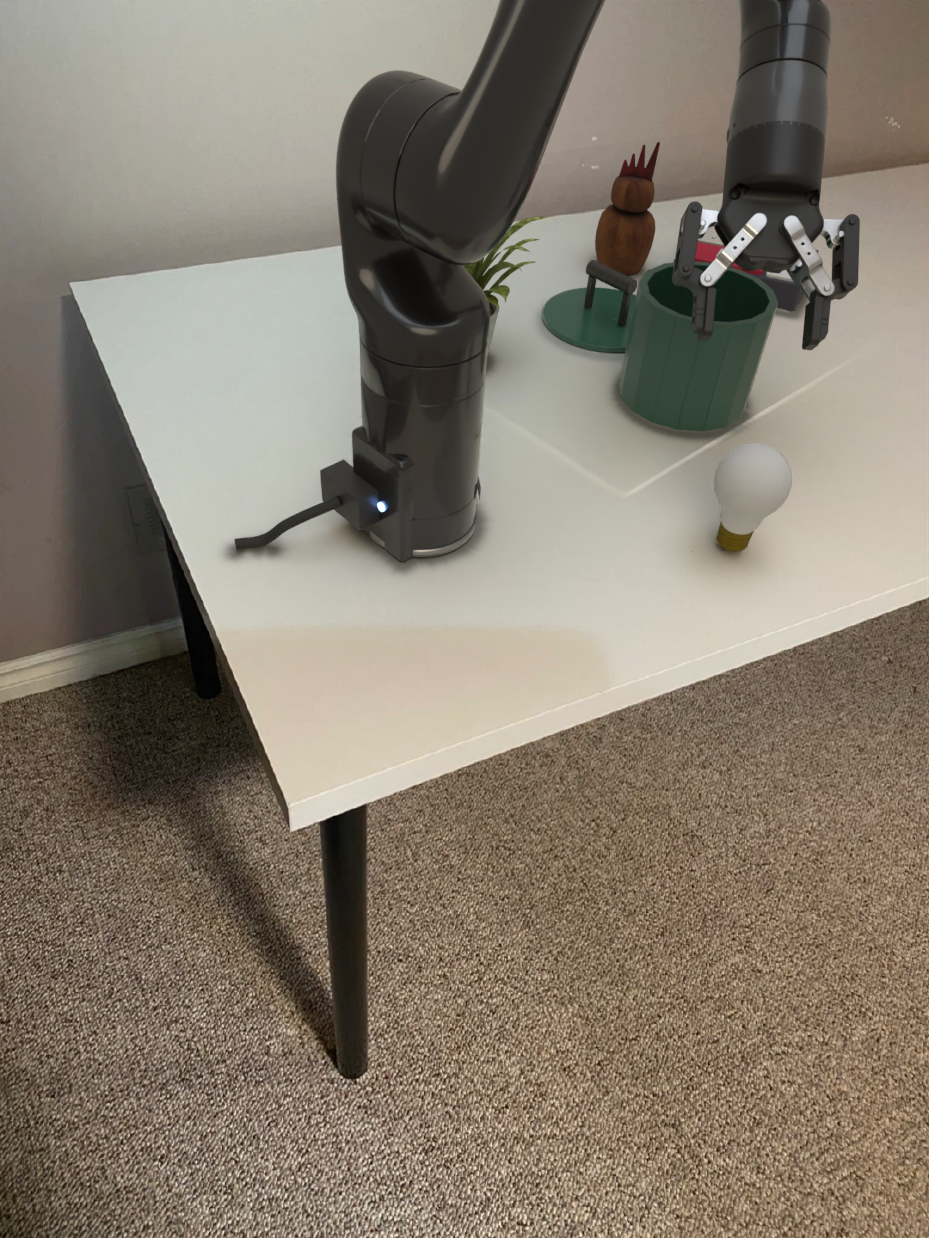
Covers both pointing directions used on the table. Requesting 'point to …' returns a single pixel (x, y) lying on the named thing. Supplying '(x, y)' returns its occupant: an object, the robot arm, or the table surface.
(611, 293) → the lid
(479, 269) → the house plant
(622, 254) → the wooden figurine
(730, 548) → the light bulb
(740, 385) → the tin
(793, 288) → the calculator
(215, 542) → the table surface
